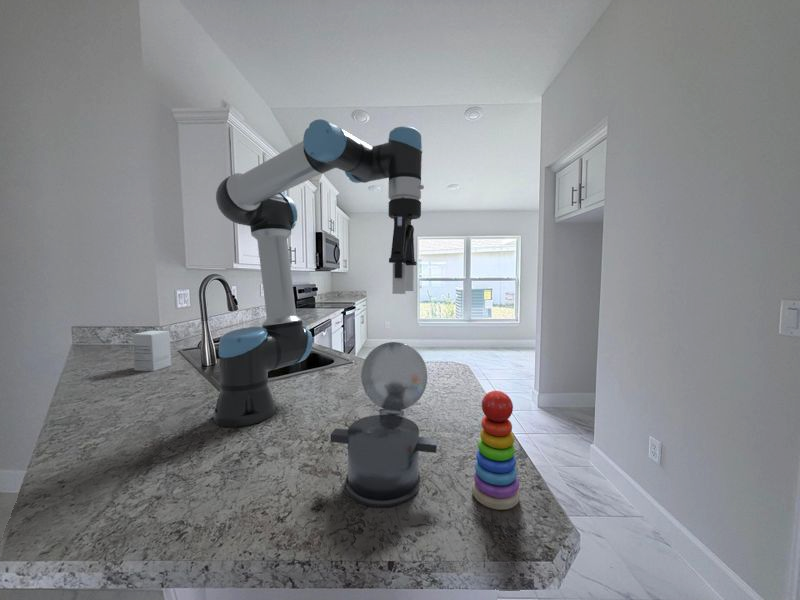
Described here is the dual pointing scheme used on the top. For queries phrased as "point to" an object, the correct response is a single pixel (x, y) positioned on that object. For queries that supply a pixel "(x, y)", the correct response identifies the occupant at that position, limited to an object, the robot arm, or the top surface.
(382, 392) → the lid
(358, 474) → the pot
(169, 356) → the supplement box
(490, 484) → the stacking toy
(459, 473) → the top surface
